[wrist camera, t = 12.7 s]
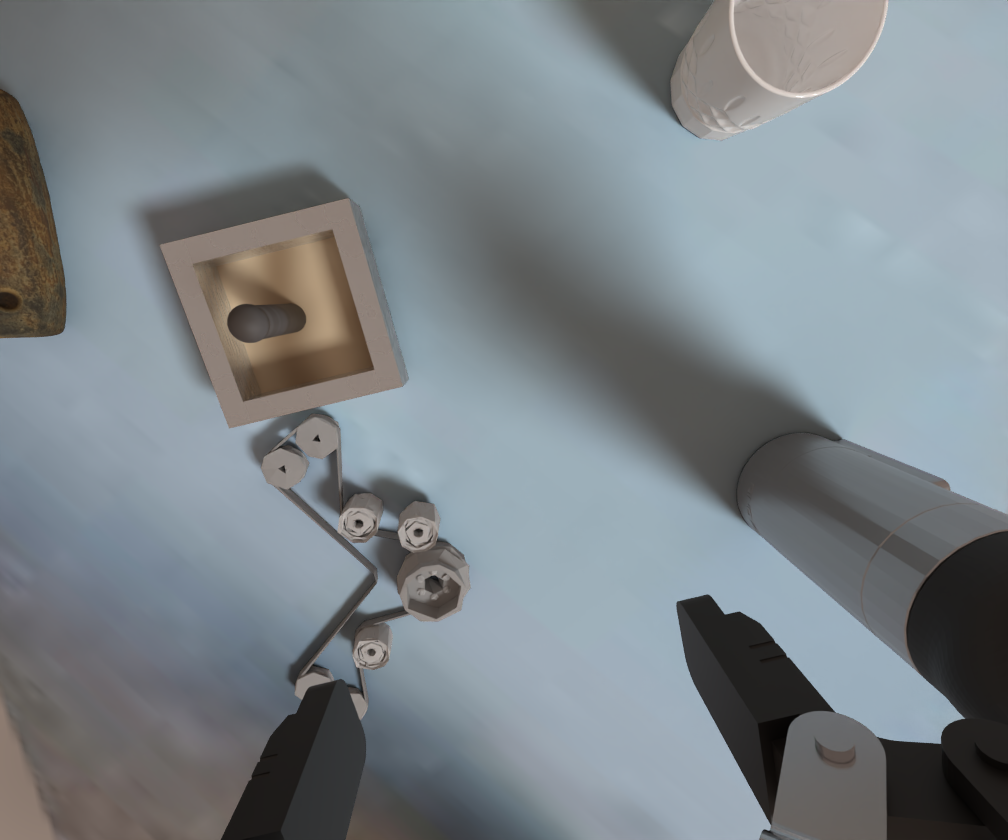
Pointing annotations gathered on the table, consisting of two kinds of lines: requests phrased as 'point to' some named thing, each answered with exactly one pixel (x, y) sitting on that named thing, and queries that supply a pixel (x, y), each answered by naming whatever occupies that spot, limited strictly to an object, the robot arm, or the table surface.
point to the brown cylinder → (26, 235)
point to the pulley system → (359, 526)
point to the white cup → (768, 59)
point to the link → (228, 355)
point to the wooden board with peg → (295, 315)
